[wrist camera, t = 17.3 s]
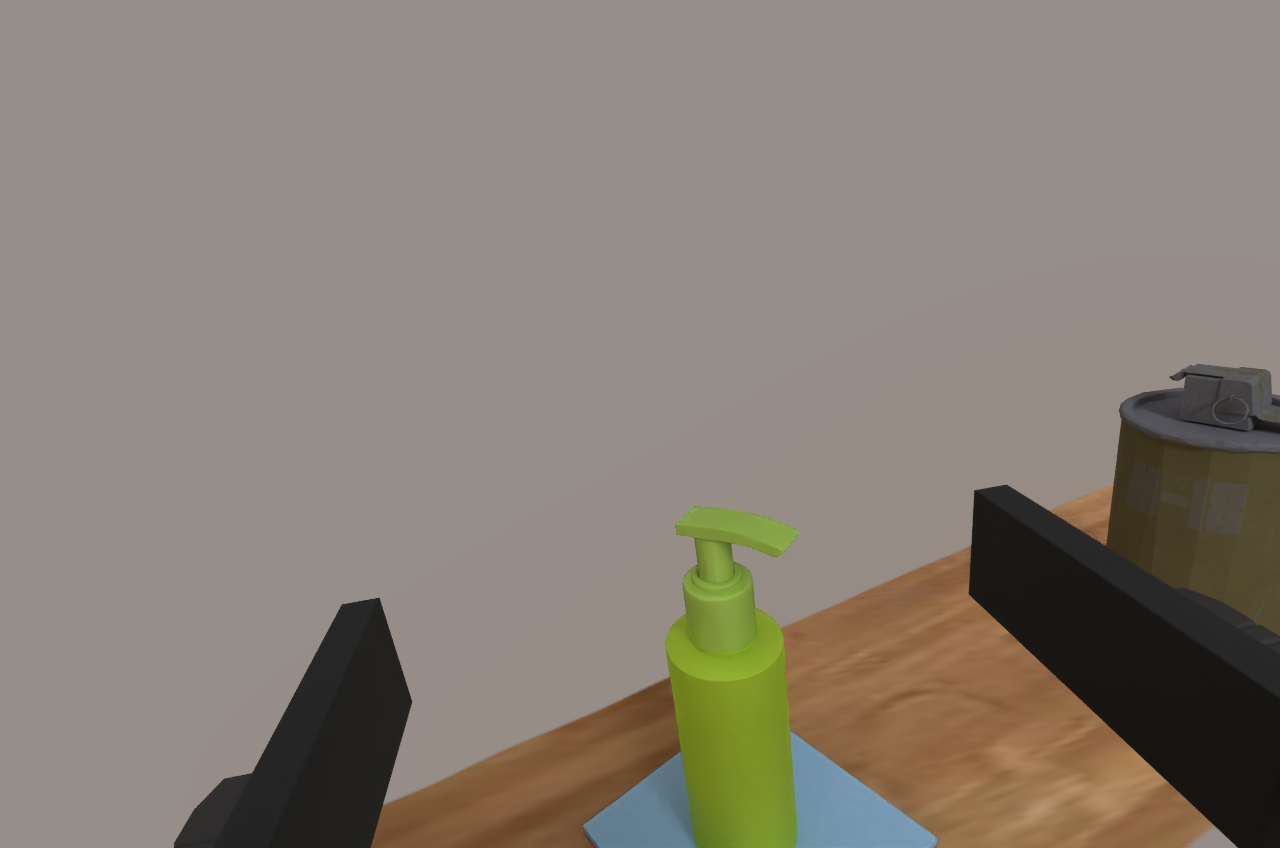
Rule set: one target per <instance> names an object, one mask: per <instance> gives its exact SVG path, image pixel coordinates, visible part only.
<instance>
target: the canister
mask: <svg viewBox="0 0 1280 848" xmlns="http://www.w3.org/2000/svg"><path fill="white" fill-rule="evenodd" d="M1184 377H1186V379H1185V385H1184V388H1174V389H1167V390H1159V391H1151V392H1144V393H1141V394H1138V395H1136V396H1133V397H1130V398H1128V399H1126V400H1125V401H1124V402H1123V403H1121V406H1120V409H1119V412H1120V416H1121V419H1122V421H1121V429H1120V437H1119V445H1118V454H1117V462H1116V470H1115V478H1114V487H1113V495H1112V503H1111V511H1110V519H1109V528H1108V536H1107V544H1106V547H1108V548H1109V549H1111V550H1113V551H1114V552H1116V553H1118V554H1119V555H1121V556H1122V557H1124V558H1126V559H1127V560H1129V561H1130V562H1132V563H1134V564H1135V565H1137V566H1138V567H1140V568H1142V569H1143V570H1145V571H1147V572H1148V573H1150V574H1151V575H1153V576H1155V577H1156V578H1158V579H1159V580H1161V581H1163V582H1164V583H1166V584H1168V585H1169V586H1171V587H1172V588H1174V589H1177V588H1182V587H1184V588H1187V589H1190V590H1192V591H1195V592H1198V593H1200V594H1203V595H1206V596H1208V597H1211V598H1213V599H1216V600H1219V601H1221V602H1223V603H1225V604H1227V605H1228V606H1230V607H1232V608H1233V609H1235V610H1237V611H1238V612H1240V613H1242V614H1243V615H1245V616H1247V617H1248V618H1250V619H1252V620H1253V621H1254V622H1255V624H1256V625H1257V626H1258V625H1262V626H1264V627H1265V628H1267V629H1269V630H1270V631H1272V632H1274V633H1275V634H1277V635H1279V636H1280V396H1279V395H1273V394H1272V392H1271V390H1272V389H1271V374H1270V372H1269V371H1267V370H1264V369H1255V368H1245V367H1240V368H1239V369H1238V368H1229V367H1220V366H1211V365H1203V364H1202V365H1201V364H1197V365H1195V366H1192V365H1190V366H1188V367H1186V368H1185V369H1182V370H1181V371H1180V372H1178V373H1177V374H1175V375H1173V376H1170V378H1171V379H1172V380H1176V381H1178V380H1181V379H1182V378H1184Z"/></svg>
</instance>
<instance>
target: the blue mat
mask: <svg viewBox="0 0 1280 848" xmlns="http://www.w3.org/2000/svg"><path fill="white" fill-rule="evenodd" d="M790 734H791V748H792V761H793V775H794V789H795V802H796V816H797V830H798V833H797V842H796V845H795V848H934V847H935V846H936V845H937V837H936V836H934V835H933V834H932V833H930V832H929V831H927V830H926V829H925V828H923V827H922V826H921V825H919V824H918V823H916V822H915V821H914V820H912V819H911V818H910V817H908V816H907V815H905V814H904V813H903V812H901V811H900V810H899V809H897V808H896V807H894V806H893V805H892V804H890V803H889V802H888V801H886V800H885V799H883V798H882V797H881V796H879V795H878V794H877V793H875V792H874V791H872V790H871V789H870V788H868V787H867V786H866V785H864V784H863V783H861V782H860V781H859V780H857V779H856V778H855V777H853V776H852V775H850V774H849V773H848V772H846V771H845V770H843V769H842V768H841V767H839V766H838V765H837V764H835V763H834V762H832V761H831V760H830V759H828V758H827V757H826V756H824V755H823V754H821V753H820V752H819V751H817V750H816V749H815V748H813V747H812V746H810V745H809V744H808V743H806V742H805V741H804V740H802V739H801V738H799V737H798V736H797V735H795V734H794V733H793V732H791V731H790ZM583 829H584V833H585V834H586V835H587V837H588V838H589V839H590V841H591V842H592V843H593V844H594V846H595V847H596V848H698V847H697V845H696V842H695V839H694V834H693V828H692V821H691V814H690V807H689V801H688V794H687V787H686V781H685V774H684V767H683V760H682V754H681V751H680V752H679V753H678V754H676V755H675V756H674V757H672V758H671V759H670V760H669V761H667V762H666V763H665V764H663V765H662V766H661V767H659V768H658V769H657V770H655V771H654V772H653V773H651V774H650V775H649V776H647V777H646V778H645V779H644V780H642V781H641V782H640V783H638V784H637V785H636V786H634V787H633V788H632V789H630V790H629V791H628V792H626V793H625V794H624V795H622V796H621V797H620V798H618V799H617V800H616V801H615V802H613V803H612V804H611V805H609V806H608V807H607V808H605V809H604V810H603V811H601V812H600V813H599V814H597V815H596V816H595V817H593V818H592V819H591V820H589V821H588V822H587V823H586V824H584V825H583Z"/></svg>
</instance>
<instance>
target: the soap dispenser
mask: <svg viewBox="0 0 1280 848" xmlns="http://www.w3.org/2000/svg"><path fill="white" fill-rule="evenodd" d="M676 533H677V535H682V536H689V537H694V538H695V547H696V555H697V563H698V565H696V566H695V567H693V568H691V569H690V570H689V571H688V572H687V573H686V574H685V576H684V578H683V591H684V599H685V607H686V614H685V615H684V616H682V617H681V618H680V619H678V620H677V621H676V622H675V623H674V624H673V626H672V627H671V628H670V630H669V632H668V634H667V638H666V652H667V659H668V666H669V673H670V680H671V686H672V693H673V700H674V707H675V713H676V720H677V727H678V733H679V740H680V747H681V754H682V760H683V767H684V774H685V781H686V787H687V794H688V801H689V807H690V814H691V821H692V828H693V834H694V839H695V842H696V845H697V847H698V848H795V845H796V842H797V833H798V830H797V816H796V802H795V789H794V775H793V761H792V748H791V734H790V720H789V706H788V693H787V679H786V665H785V652H784V639H783V634H782V631H781V628H780V627H779V625H778V624H777V623H776V621H775V620H774V619H773V618H772V617H770V616H769V615H768V614H766V613H764V612H763V611H761V610H759V609H756V608H755V602H754V590H753V580H752V576H751V573H750V572H749V570H748V569H747V568H746V567H744V566H743V565H741V564H739V563H736V562H733V559H732V558H733V557H732V547H731V543H732V544H737V545H741V546H746V547H749V548H752V549H755V550H758V551H760V552H763V553H766V554H768V555H771V556H773V557H778V556H780V555H782V554H783V553H784V552H785V551H786V550H787V549H788V547H789V546H790V545H791V543H792V542H793V541H794V539H795V538H796V537H797V535H798V534H799V531H798V530H797V529H795V528H792V527H790V526H788V525H786V524H783V523H781V522H778V521H775V520H773V519H770V518H767V517H764V516H760V515H757V514H753V513H748V512H743V511H737V510H730V509H720V508H709V507H693V508H692V509H691V510H690V511H689V512H688V513H687V514H686V515H685V516H684V517H683V518H682V519H681V520H679V522H677V523H676Z"/></svg>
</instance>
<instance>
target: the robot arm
mask: <svg viewBox="0 0 1280 848" xmlns="http://www.w3.org/2000/svg"><path fill="white" fill-rule="evenodd" d="M969 595H970V596H971V597H972V598H973V599H974V600H975V601H976V602H978V603H979V604H980V605H981V606H982V607H983V608H984V609H985V610H986V611H987V612H988V613H989V614H990V615H991V616H992V617H993V618H995V619H996V620H997V621H998V622H999V623H1000V624H1001V625H1002V626H1003V627H1004V628H1005V629H1006V630H1007V631H1008V632H1009V633H1010V634H1012V635H1013V636H1014V637H1015V638H1016V639H1017V640H1018V641H1019V642H1020V643H1021V644H1022V645H1023V646H1024V647H1025V648H1026V649H1027V650H1029V651H1030V652H1031V653H1032V654H1033V655H1034V656H1035V657H1036V658H1037V659H1038V660H1039V661H1040V662H1041V663H1042V664H1043V665H1044V666H1046V667H1047V668H1048V669H1049V670H1050V671H1051V672H1052V673H1053V674H1054V675H1055V676H1056V677H1057V678H1058V679H1059V680H1060V681H1061V682H1062V683H1064V684H1065V685H1066V686H1067V687H1068V688H1069V689H1070V690H1071V691H1072V692H1073V693H1074V694H1075V695H1076V696H1077V697H1078V698H1079V699H1081V700H1082V701H1083V702H1084V703H1085V704H1086V705H1087V706H1088V707H1089V708H1090V709H1091V710H1092V711H1093V712H1094V713H1095V714H1096V715H1098V716H1099V717H1100V718H1101V719H1102V720H1103V721H1104V722H1105V723H1106V724H1107V725H1108V726H1109V727H1110V728H1111V729H1112V730H1113V731H1115V732H1116V733H1117V734H1118V735H1119V736H1120V737H1121V738H1122V739H1123V740H1124V741H1125V742H1126V743H1127V744H1128V745H1129V746H1130V747H1132V748H1133V749H1134V750H1135V751H1136V752H1137V753H1138V754H1139V755H1140V756H1141V757H1142V758H1143V759H1144V760H1145V761H1146V762H1147V763H1149V764H1150V765H1151V766H1152V767H1153V768H1154V769H1155V770H1156V771H1157V772H1158V773H1159V774H1160V775H1161V776H1162V777H1163V778H1164V779H1166V780H1167V781H1168V782H1169V783H1170V784H1171V785H1172V786H1173V787H1174V788H1175V789H1176V790H1177V791H1178V792H1179V793H1180V794H1181V795H1183V796H1184V797H1185V798H1186V799H1187V800H1188V801H1189V802H1190V803H1191V804H1192V805H1193V806H1194V807H1195V808H1196V809H1197V810H1198V811H1199V812H1201V813H1202V814H1203V815H1204V816H1205V817H1206V818H1207V819H1208V820H1209V821H1210V822H1211V823H1212V824H1213V825H1214V826H1215V827H1216V828H1218V829H1219V830H1220V831H1221V832H1222V833H1223V834H1224V835H1225V836H1226V837H1227V838H1228V839H1229V840H1230V841H1231V842H1233V843H1234V844H1235V845H1236V846H1237V847H1238V848H1280V636H1279V635H1277V634H1275V633H1274V632H1272V631H1270V630H1269V629H1267V628H1265V627H1264V626H1262V625H1258V626H1257V625H1256V624H1255V622H1254V621H1253V620H1252V619H1250V618H1248V617H1247V616H1245V615H1243V614H1242V613H1240V612H1238V611H1237V610H1235V609H1233V608H1232V607H1230V606H1228V605H1227V604H1225V603H1223V602H1221V601H1219V600H1216V599H1213V598H1211V597H1208V596H1206V595H1203V594H1200V593H1198V592H1195V591H1192V590H1190V589H1187V588H1184V587H1182V588H1177V589H1174V588H1172V587H1171V586H1169V585H1168V584H1166V583H1164V582H1163V581H1161V580H1159V579H1158V578H1156V577H1155V576H1153V575H1151V574H1150V573H1148V572H1147V571H1145V570H1143V569H1142V568H1140V567H1138V566H1137V565H1135V564H1134V563H1132V562H1130V561H1129V560H1127V559H1126V558H1124V557H1122V556H1121V555H1119V554H1118V553H1116V552H1114V551H1113V550H1111V549H1109V548H1108V547H1106V546H1105V545H1103V544H1101V543H1100V542H1098V541H1097V540H1095V539H1093V538H1092V537H1090V536H1089V535H1087V534H1085V533H1084V532H1082V531H1080V530H1079V529H1077V528H1076V527H1074V526H1072V525H1071V524H1069V523H1068V522H1066V521H1064V520H1063V519H1061V518H1060V517H1058V516H1056V515H1055V514H1053V513H1051V512H1050V511H1048V510H1047V509H1045V508H1043V507H1042V506H1040V505H1039V504H1037V503H1035V502H1034V501H1032V500H1030V499H1029V498H1027V497H1026V496H1024V495H1022V494H1021V493H1019V492H1018V491H1016V490H1014V489H1013V488H1011V487H1009V486H1008V485H1002V486H997V487H991V488H986V489H980V490H975V491H974V508H973V527H972V545H971V563H970V582H969ZM411 704H412V700H411V696H410V693H409V690H408V687H407V684H406V681H405V677H404V674H403V671H402V668H401V665H400V662H399V658H398V655H397V652H396V649H395V646H394V643H393V639H392V636H391V633H390V630H389V627H388V624H387V620H386V617H385V614H384V611H383V608H382V605H381V602H380V598H376V599H370V600H364V601H359V602H353V603H348V604H342V606H341V607H340V609H339V611H338V613H337V615H336V617H335V619H334V620H333V622H332V624H331V626H330V628H329V630H328V632H327V634H326V635H325V637H324V639H323V641H322V643H321V645H320V647H319V649H318V651H317V652H316V654H315V656H314V658H313V660H312V662H311V664H310V666H309V667H308V669H307V671H306V673H305V675H304V677H303V679H302V681H301V683H300V684H299V686H298V688H297V690H296V692H295V694H294V696H293V698H292V699H291V701H290V703H289V705H288V707H287V709H286V711H285V713H284V715H283V717H282V718H281V720H280V722H279V724H278V726H277V728H276V730H275V732H274V733H273V735H272V737H271V739H270V741H269V743H268V745H267V747H266V748H265V750H264V752H263V754H262V756H261V758H260V760H259V762H258V764H257V765H256V767H255V769H254V771H253V773H251V774H246V775H241V776H236V777H231V778H226V779H224V780H223V781H222V782H221V783H220V784H219V785H218V786H217V787H216V788H215V789H214V790H213V791H212V792H211V793H210V794H209V795H208V796H207V797H206V798H205V799H204V800H203V801H202V802H201V803H200V804H199V805H198V806H197V808H195V809H194V811H193V812H192V814H191V816H190V818H189V819H188V821H187V822H186V824H185V826H184V828H183V829H182V831H181V833H180V834H179V836H178V838H177V839H176V841H175V843H174V848H371V844H372V841H373V837H374V834H375V830H376V827H377V823H378V820H379V816H380V813H381V809H382V806H383V802H384V799H385V795H386V792H387V788H388V784H389V781H390V778H391V774H392V771H393V767H394V764H395V760H396V757H397V753H398V750H399V746H400V743H401V739H402V736H403V732H404V729H405V725H406V721H407V718H408V714H409V711H410V708H411Z"/></svg>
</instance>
